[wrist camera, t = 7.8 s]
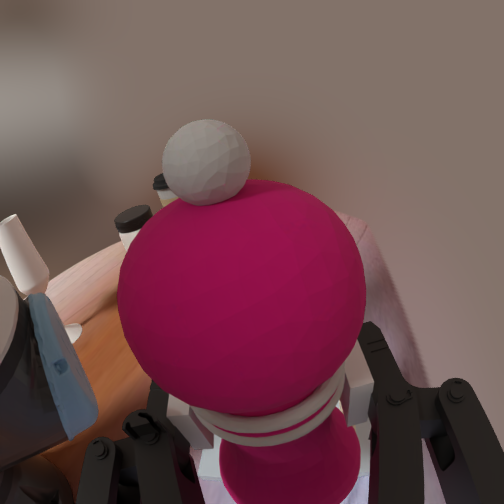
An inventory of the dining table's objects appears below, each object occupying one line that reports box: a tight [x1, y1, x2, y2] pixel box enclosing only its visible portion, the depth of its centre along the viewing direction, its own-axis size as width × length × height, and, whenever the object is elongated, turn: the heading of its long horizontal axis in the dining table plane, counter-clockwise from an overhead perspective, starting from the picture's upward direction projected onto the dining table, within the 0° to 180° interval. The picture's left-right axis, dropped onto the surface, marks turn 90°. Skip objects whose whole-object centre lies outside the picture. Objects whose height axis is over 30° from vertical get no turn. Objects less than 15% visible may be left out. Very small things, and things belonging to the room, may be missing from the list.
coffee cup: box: [153, 173, 179, 207], centre depth 75 cm, size 9×9×15 cm
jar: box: [114, 205, 153, 252], centre depth 65 cm, size 9×8×12 cm
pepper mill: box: [117, 119, 366, 504], centre depth 11 cm, size 7×7×20 cm
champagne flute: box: [0, 214, 82, 343], centre depth 44 cm, size 7×7×24 cm
